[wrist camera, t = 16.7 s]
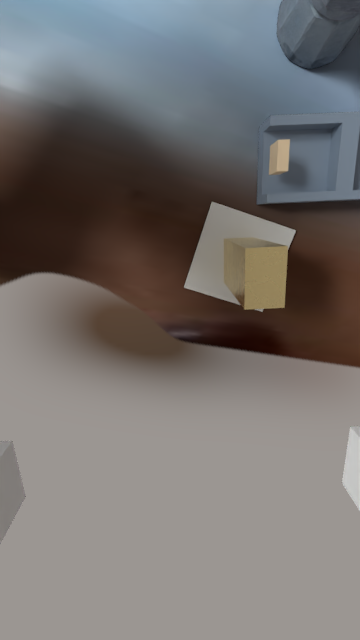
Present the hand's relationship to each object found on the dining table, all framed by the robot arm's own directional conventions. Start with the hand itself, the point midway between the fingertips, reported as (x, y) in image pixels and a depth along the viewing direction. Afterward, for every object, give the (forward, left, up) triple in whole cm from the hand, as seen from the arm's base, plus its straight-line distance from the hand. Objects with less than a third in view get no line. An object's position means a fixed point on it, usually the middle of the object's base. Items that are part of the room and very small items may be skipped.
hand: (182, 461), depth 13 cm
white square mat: (+7, +6, -35) cm, 36 cm away
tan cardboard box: (+7, +6, -34) cm, 35 cm away
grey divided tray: (+17, +22, -35) cm, 44 cm away
